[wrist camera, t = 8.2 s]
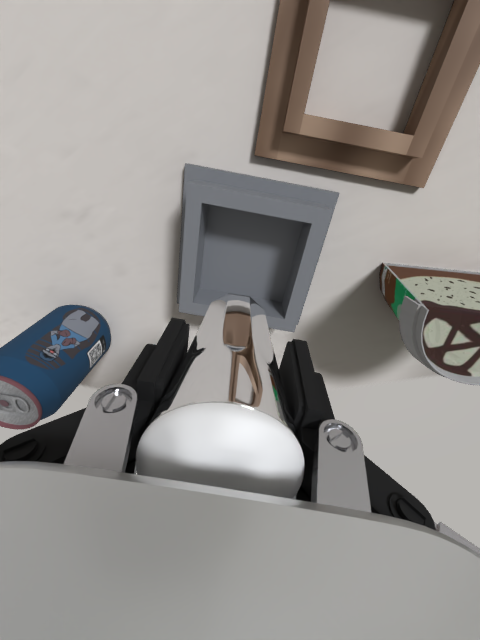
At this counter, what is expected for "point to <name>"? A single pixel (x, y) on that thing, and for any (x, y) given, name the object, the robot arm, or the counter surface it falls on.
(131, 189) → the counter surface
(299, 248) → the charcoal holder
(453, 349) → the food container
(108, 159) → the counter surface
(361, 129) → the walnut dock
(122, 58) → the counter surface
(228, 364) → the milkshake
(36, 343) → the soda can
